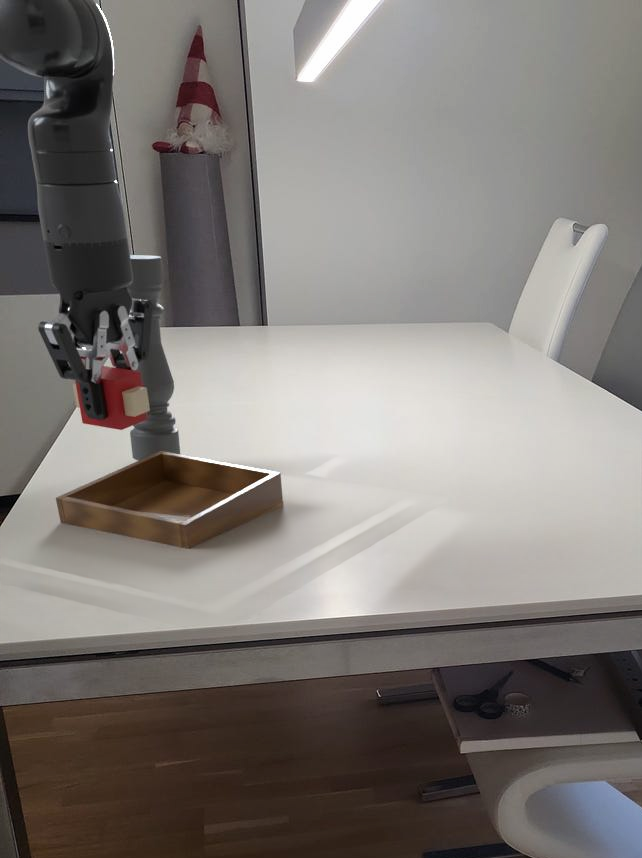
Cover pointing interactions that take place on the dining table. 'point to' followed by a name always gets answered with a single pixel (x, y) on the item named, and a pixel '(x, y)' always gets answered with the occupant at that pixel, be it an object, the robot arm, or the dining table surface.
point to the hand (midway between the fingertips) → (113, 411)
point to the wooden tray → (172, 499)
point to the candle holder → (153, 367)
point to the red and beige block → (119, 399)
